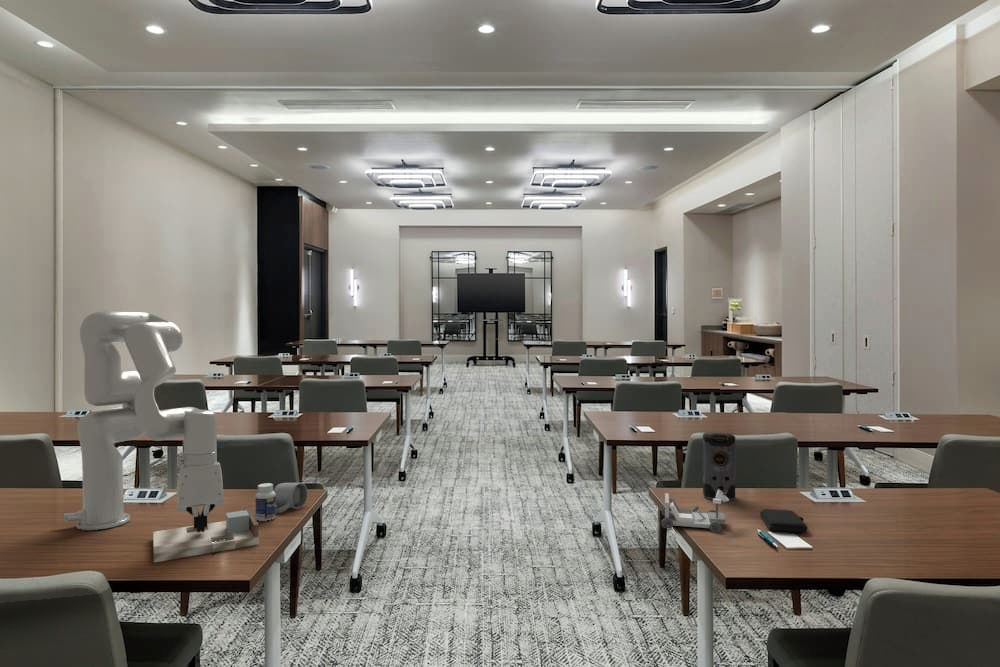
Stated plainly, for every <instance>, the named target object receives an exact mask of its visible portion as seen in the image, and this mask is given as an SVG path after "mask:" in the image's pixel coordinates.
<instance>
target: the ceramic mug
mask: <svg viewBox="0 0 1000 667" xmlns="http://www.w3.org/2000/svg"><path fill="white" fill-rule="evenodd" d="M273 491H274V492H275V494H276V507H278V508H276V514H280V513H283V512H285V511H286V510H288V509H292V510H293V509H294V510H299V508H300V509H301V507H302V508H303V507H304V506H305V504H306V502H307V499H308V487H307V486H306V484H305V483H304V482H283V483H278V484H277V485H275V487H273Z"/></svg>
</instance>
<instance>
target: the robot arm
mask: <svg viewBox="0 0 1000 667" xmlns="http://www.w3.org/2000/svg"><path fill="white" fill-rule="evenodd" d="M79 338H80V343H81V347H82V351H83V355H84V356H83V357H84V366H83V367H84V368H83V371H84V372H83V373H84V374H83V375H84V376H83V377H84V380H83V382H84V386H83V387H84V391H83V392H84V398H85V400H86V402H87V403H88V404H89V405H90V406H93V407H106V406H115V405H121V406H122V407H121V408H112V409H103V410H98V411H93V412H90V413H87V414H85V415H84V416H82V417H81V418H80V419H79V421H78V423H77V426H76V431H77V437H78V441H79V445H80V450H81V463H82V465H81V466H82V467H81V468H82V469H81V470H82V508H81V510H77V512H67V513H63V517H62V518H63V521H64V522H65V521H67V522H75V521H77V522H76V526H75V527H76V529H78V530H80V529H81V530H80V531H98V530H99V529H100V530H106V529H111V528H115V527H118V526H121V525H122V526H123V525H124V524H126V523H127V522H129V521H130V520H131V515H130V514H129V513H127V512H125V511H124V466H123V465H124V462H123V461H124V460H123V456H122V453H120V451H119V450H118V449H117V447H116V446H115V444H117V443H120V442H125V441H132V440H137V439H140V438H142V437H143V436H144V435H145V436H147V438H149V439H150V440H151V441H156V442H159V441H160V442H161V441H165V440H166V441H167V440H171V439H175V438H182V437H183V454H182V455H179V456H177V457H176V458H177V462H178V463H182V465H180V468H179V476H178V483H177V505H176V510H177V511H178V512H187V513H188V514H190V515H191V516H192V517H193V526H194V529H197V533H199V532H204V527H207V524H208V516H209V513H210V512H212V510H213V509H215V508H216V507H220V506H222V505H224V499H223V498H224V488H223V487H224V484H223V474H222V473H223V472H222V466H221V463H220V462H219V461H218V460H217V457H218V456H217V455H218V454H217V453H218V452H217V445H218V444H217V440H218V439H217V435H218V434H217V428H218V426H217V419H218V418H217V413H216V412H215V411H214V410H211V409H200V408H198V407H193V406H183V407H175V408H169V409H161V410H160V408H159V406H158V404H157V402H156V398H155V389H156V387H158V386H160V385H162V384H164V383H165V382H167V381H169V380H170V379H172V378H173V377H174V375H175V374H176V371H177V368H176V365H175V364H174V362H173V360H172V357H171V355H170V353H172V352H176V351H178V350H179V349H180V348H181V346H182V345H183V338H184V337H183V334H182V331H181V329H180V328H179V326H178V325H177V324H175V323H174V322H172V321H171V320H168V319H166V318H163V317H160V316H159V315H156V314H154V313H150V312H146V311H145V312H144V311H121V310H120V311H119V310H116V311H115V310H107V311H106V310H104V311H102V310H101V311H96V312H93V313H90V314H88V315H87V316H85V317H84V319H83V320H82V322H81V324H80V328H79ZM119 342H120V343H125V346H126V349H127V351H128V352H129V355H130V357H131V360H132V362H133V363H134V367H135V369H136V370H135V369H126V370H122V368H121V366H122V365H121V362H122V359H121V354H120V351H119V350H118V348H117V347H116V346H115V345H114V343H119ZM198 506H203V507H202V511H201V512H199V511H198Z"/></svg>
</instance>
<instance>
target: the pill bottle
mask: <svg viewBox="0 0 1000 667" xmlns="http://www.w3.org/2000/svg"><path fill="white" fill-rule="evenodd" d="M257 491H258V492H256V493H255V519H256V521H257V520H258V521H257V522H268V521H267V520H269V521H272V520H274V519H275V518H276V514H277V513H276V509H277V506H276V494H275V492H274V484H273V483H270V482H267V483H265V482H264V483H260V484H258V485H257ZM271 519H272V520H271Z"/></svg>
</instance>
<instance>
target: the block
mask: <svg viewBox="0 0 1000 667" xmlns="http://www.w3.org/2000/svg"><path fill="white" fill-rule="evenodd" d="M225 521H226V529H227V532H228V534H229V533H236V532H242V531H248V530H249V514H248V512H247V510H245V509H244V510H237V511H230V512H226V513H225Z"/></svg>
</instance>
